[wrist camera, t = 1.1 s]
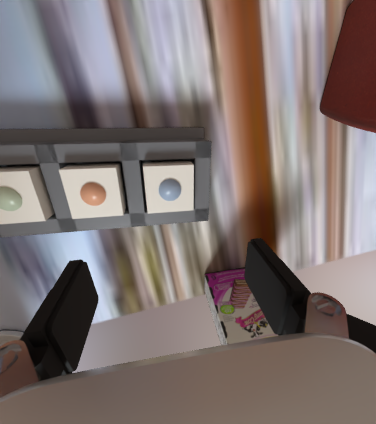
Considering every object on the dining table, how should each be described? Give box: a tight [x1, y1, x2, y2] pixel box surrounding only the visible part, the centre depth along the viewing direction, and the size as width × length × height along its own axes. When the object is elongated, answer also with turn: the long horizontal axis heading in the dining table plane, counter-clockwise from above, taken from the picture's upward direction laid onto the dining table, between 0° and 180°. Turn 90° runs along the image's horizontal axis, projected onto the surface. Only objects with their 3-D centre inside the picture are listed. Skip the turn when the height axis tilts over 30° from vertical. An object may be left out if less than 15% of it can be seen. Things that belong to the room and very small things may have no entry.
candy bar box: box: [205, 268, 278, 346], centre depth 34 cm, size 11×5×16 cm, turn 93°
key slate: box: [143, 161, 194, 214], centre depth 25 cm, size 6×6×3 cm
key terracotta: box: [59, 163, 126, 219], centre depth 24 cm, size 6×6×3 cm
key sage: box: [0, 166, 55, 224], centre depth 23 cm, size 6×6×3 cm
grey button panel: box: [0, 127, 211, 237], centre depth 26 cm, size 14×29×5 cm, turn 90°
